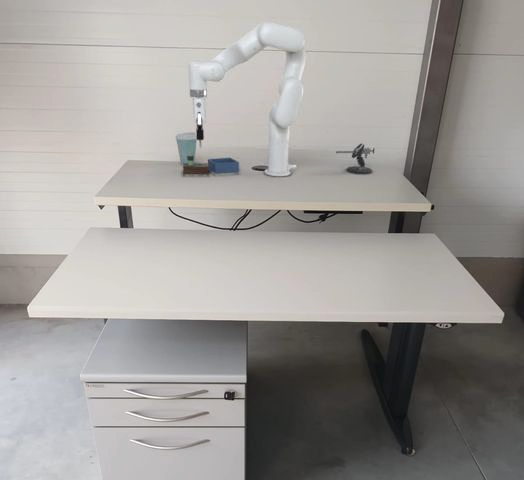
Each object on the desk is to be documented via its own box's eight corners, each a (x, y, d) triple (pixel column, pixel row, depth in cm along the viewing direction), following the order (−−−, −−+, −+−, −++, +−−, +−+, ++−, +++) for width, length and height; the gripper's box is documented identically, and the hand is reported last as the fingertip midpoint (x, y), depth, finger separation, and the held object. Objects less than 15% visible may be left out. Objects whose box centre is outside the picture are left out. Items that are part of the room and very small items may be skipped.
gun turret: (331, 168, 257) (333, 141, 250) (367, 167, 261) (370, 141, 254) (339, 174, 247) (342, 146, 240) (376, 173, 251) (381, 146, 244)
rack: (183, 172, 239) (183, 162, 237) (207, 172, 241) (207, 163, 238) (183, 176, 233) (183, 166, 231) (208, 176, 235) (207, 166, 232)
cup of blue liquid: (181, 168, 247) (180, 135, 239) (173, 163, 255) (171, 131, 247) (201, 166, 251) (200, 134, 243) (193, 162, 259) (191, 130, 251)
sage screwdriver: (188, 171, 237) (187, 151, 232) (194, 171, 238) (193, 151, 233) (187, 173, 235) (187, 153, 230) (194, 173, 235) (193, 153, 230)
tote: (230, 169, 248) (230, 157, 246) (238, 174, 241) (238, 162, 238) (207, 170, 244) (207, 159, 241) (215, 175, 236) (215, 163, 233)
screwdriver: (197, 147, 232) (196, 126, 227) (203, 147, 232) (202, 126, 227) (197, 148, 229) (196, 127, 225) (203, 148, 230) (202, 127, 225)
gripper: (207, 96, 212) (208, 142, 222) (206, 92, 226) (208, 135, 236) (189, 96, 212) (191, 142, 222) (189, 91, 225) (192, 135, 235)
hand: (200, 138), depth 229 cm, fingers closed on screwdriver, 3 cm apart
